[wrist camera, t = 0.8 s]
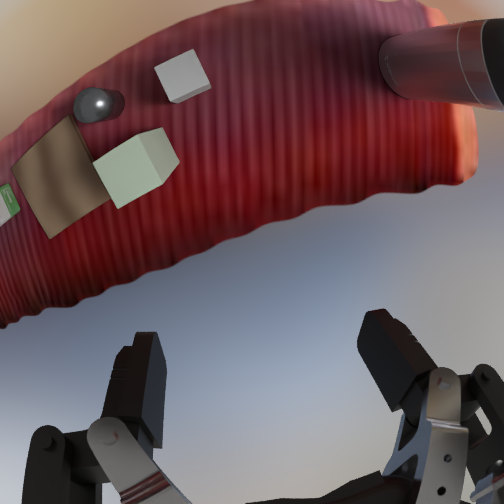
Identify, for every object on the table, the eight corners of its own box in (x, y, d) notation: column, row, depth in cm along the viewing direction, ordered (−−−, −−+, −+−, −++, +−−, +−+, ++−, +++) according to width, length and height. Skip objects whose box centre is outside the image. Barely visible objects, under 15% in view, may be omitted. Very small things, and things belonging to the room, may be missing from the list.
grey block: (197, 58, 24) (193, 48, 20) (211, 88, 26) (209, 83, 22) (163, 74, 24) (154, 67, 20) (177, 103, 26) (170, 101, 22)
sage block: (162, 127, 27) (137, 134, 19) (179, 162, 30) (162, 184, 21) (128, 146, 28) (92, 163, 19) (145, 180, 30) (117, 208, 21)
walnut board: (72, 114, 25) (68, 115, 24) (113, 196, 30) (110, 198, 29) (15, 166, 26) (11, 168, 25) (53, 236, 31) (49, 239, 30)
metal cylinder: (117, 84, 24) (96, 80, 19) (129, 109, 26) (110, 109, 21) (92, 101, 24) (68, 101, 19) (104, 125, 26) (81, 129, 21)
